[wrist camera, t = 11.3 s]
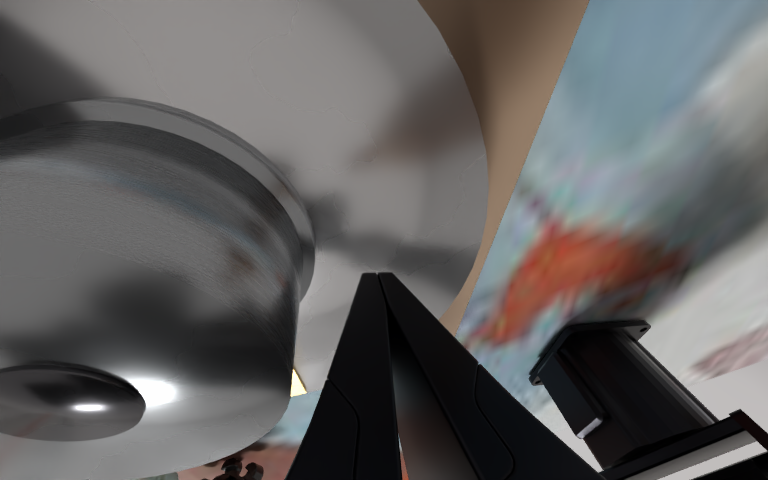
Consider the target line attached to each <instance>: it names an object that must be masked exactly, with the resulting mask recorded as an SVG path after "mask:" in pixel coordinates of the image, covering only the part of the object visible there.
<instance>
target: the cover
mask: <svg viewBox="0 0 768 480" xmlns="http://www.w3.org/2000/svg"><path fill="white" fill-rule="evenodd" d="M315 249H316V247H315V234H314V230H313V225H312V221H311V218H310V216H309V213H308V211H307V208H306V206H305V204H304V202H303V201H302V199H301V197H300V195H299V193H298V192H297V190H296V189H295V188H294V186H293V185H292V184H291V182H290V181H289V180H288V178H287V177H286V176H285V175H284V174H283V173H282V172H281V171H280V169H279V168H278V167H277V166H276V165H275V164H274V163H273V162H272V161H271V160H270V159H268V158H267V157H266V156H265V155H264V154H262V153H261V152H260V151H259V150H258V149H256V148H255V147H254V146H252V145H251V144H249V143H248V142H246V141H245V140H243V139H242V138H241V137H239V136H238V135H236V134H235V133H233V132H231V131H229V130H227V129H225V128H223V127H222V126H220V125H218V124H216V123H214V122H212V121H210V120H207V119H205V118H203V117H200V116H198V115H195V114H193V113H190V112H188V111H185V110H182V109H178V108H175V107H172V106H168V105H165V104H161V103H157V102H152V101H146V100H140V99H135V98H125V97H108V96H99V97H84V98H74V99H70V100H65V101H61V102H56V103H51V104H47V105H43V106H39V107H35V108H31V109H27V110H24V111H21V112H19V113H16V114H14V115H11V116H9V117H6V118H4V119H1V120H0V480H132V479H140V478H146V477H152V476H159V475H164V474H168V473H173V472H178V471H182V470H186V469H190V468H194V467H197V466H201V465H204V464H207V463H210V462H213V461H216V460H219V459H221V458H224V457H226V456H229V455H231V454H234V453H236V452H238V451H240V450H242V449H244V448H246V447H248V446H249V445H251V444H252V443H254V442H255V441H257V440H259V439H260V438H262V437H263V436H264V435H265V434H266V433H268V432H269V431H270V430H271V429H272V428H273V427H274V426H275V425H276V424H277V423H278V422H279V420H280V419H281V418H282V416H283V414H284V413H285V411H286V409H287V407H288V404H289V401H290V398H291V388H292V377H293V367H294V356H295V346H296V336H297V325H298V315H299V305H300V302H301V301H302V299H303V298H304V297H305V295H306V293H307V291H308V289H309V287H310V284H311V281H312V277H313V274H314V265H315Z"/></svg>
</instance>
